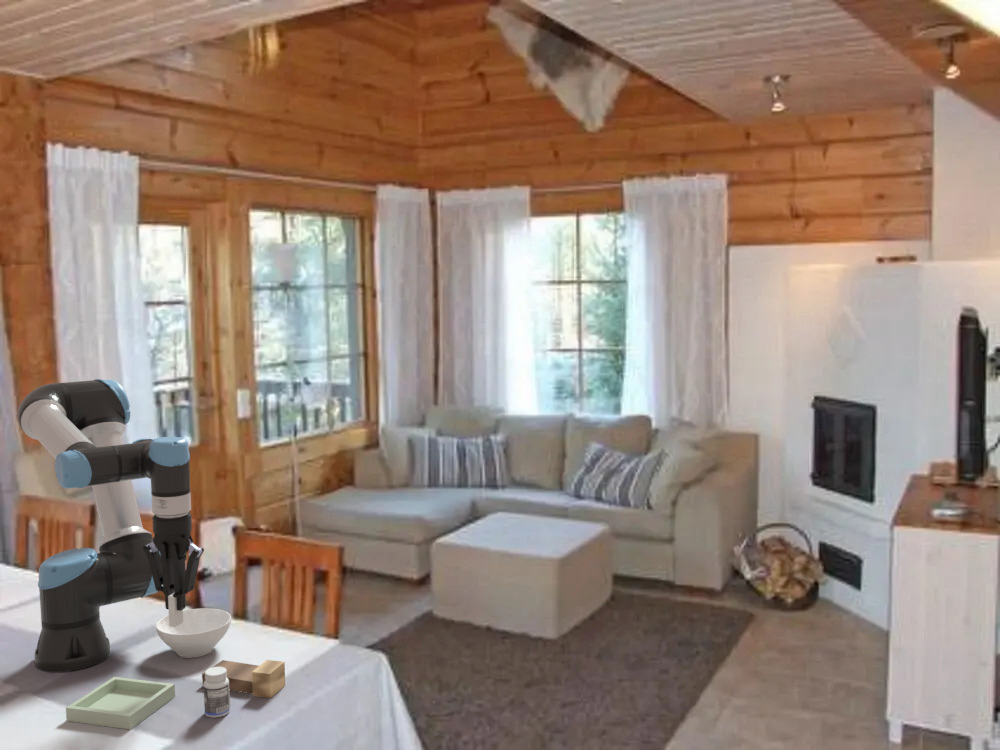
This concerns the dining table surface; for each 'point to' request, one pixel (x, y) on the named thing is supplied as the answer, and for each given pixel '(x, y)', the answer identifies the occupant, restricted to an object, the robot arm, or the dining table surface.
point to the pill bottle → (216, 692)
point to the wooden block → (268, 678)
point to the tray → (120, 702)
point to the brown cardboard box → (237, 675)
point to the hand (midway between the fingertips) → (176, 624)
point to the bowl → (195, 631)
